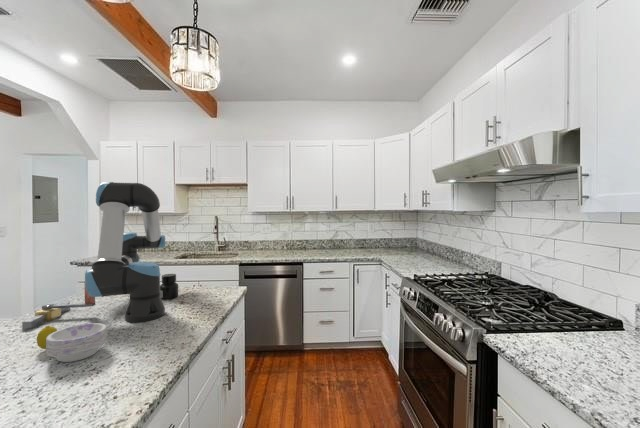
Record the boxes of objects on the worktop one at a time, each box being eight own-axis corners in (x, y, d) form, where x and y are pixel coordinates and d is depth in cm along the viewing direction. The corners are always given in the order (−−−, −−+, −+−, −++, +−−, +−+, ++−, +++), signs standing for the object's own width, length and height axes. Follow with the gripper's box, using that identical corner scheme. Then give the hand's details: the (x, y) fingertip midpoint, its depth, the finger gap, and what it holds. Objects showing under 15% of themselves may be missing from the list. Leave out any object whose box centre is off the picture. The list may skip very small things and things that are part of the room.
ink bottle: (164, 295, 163) (163, 273, 163) (181, 294, 164) (180, 272, 164) (156, 300, 154) (156, 277, 153) (174, 300, 155) (174, 276, 154)
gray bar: (73, 308, 142) (73, 299, 142) (35, 328, 118) (35, 318, 118) (58, 309, 141) (58, 300, 141) (17, 329, 117) (17, 319, 117)
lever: (97, 304, 135) (96, 279, 135) (92, 307, 131) (91, 281, 131) (46, 307, 131) (45, 281, 131) (39, 310, 127) (38, 283, 127)
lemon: (33, 351, 99) (32, 327, 99) (53, 344, 105) (52, 321, 104) (42, 355, 97) (42, 330, 97) (62, 347, 102) (62, 324, 102)
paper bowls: (97, 340, 108) (96, 318, 108) (114, 352, 99) (114, 328, 99) (40, 357, 96) (39, 333, 95) (54, 373, 87) (53, 345, 86)
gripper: (134, 270, 164) (113, 281, 141) (108, 271, 161) (82, 282, 138) (134, 256, 164) (113, 265, 140) (107, 257, 161) (81, 266, 138)
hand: (98, 273), depth 139 cm, fingers closed
